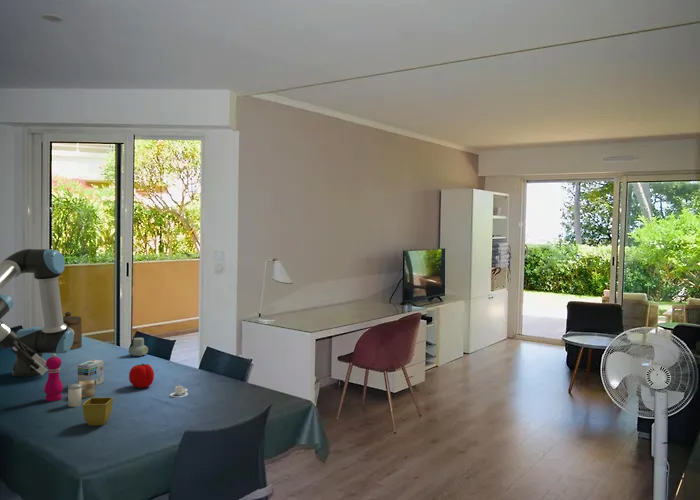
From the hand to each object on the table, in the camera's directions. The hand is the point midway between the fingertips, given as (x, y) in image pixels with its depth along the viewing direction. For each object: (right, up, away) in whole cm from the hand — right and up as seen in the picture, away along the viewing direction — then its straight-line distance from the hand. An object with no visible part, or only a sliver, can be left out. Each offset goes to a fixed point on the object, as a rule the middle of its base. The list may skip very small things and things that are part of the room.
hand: (45, 368), depth 241 cm
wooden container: (-42, -9, +104) cm, 113 cm away
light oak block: (+14, -14, +9) cm, 22 cm away
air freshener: (+7, -11, +87) cm, 88 cm away
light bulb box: (+8, -13, +26) cm, 30 cm away
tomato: (+33, -14, +24) cm, 43 cm away
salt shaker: (+15, -14, -4) cm, 21 cm away
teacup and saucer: (+57, -15, +14) cm, 60 cm away
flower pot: (+34, -16, -26) cm, 46 cm away
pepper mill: (+2, -14, +3) cm, 14 cm away
